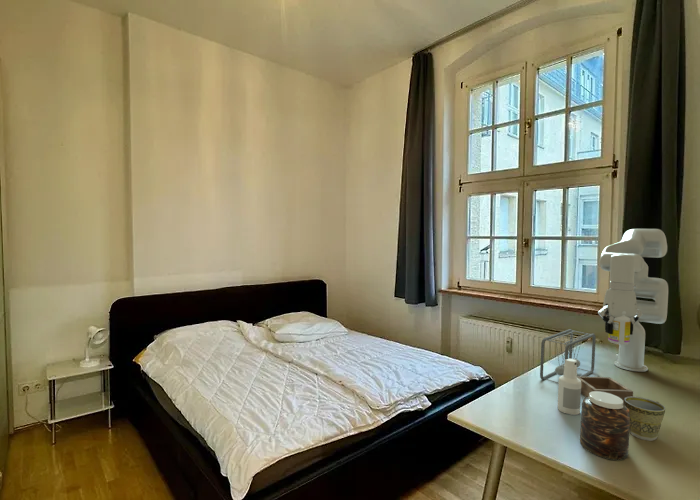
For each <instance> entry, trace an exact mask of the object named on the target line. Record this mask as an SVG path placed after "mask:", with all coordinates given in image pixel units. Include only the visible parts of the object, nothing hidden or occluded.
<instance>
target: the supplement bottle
mask: <svg viewBox="0 0 700 500" xmlns="http://www.w3.org/2000/svg"><path fill="white" fill-rule="evenodd" d="M622 314H626V312H625V311H623V312H622ZM612 324H613V333H612V334H609V333H607V334H608V336H607V337H608V338H607V341H608V342H610V343H611V344H615V345H619V344H620V345H628V344H629V342H630V318H629V317H626V316H625V315H622V316H620V317H614V319H613V321H612Z"/></svg>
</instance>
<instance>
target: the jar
mask: <svg viewBox="0 0 700 500" xmlns="http://www.w3.org/2000/svg"><path fill="white" fill-rule="evenodd" d="M580 413H581V414H580V430H579V431H580V432H579V433H580V434H579V436H580V437H579V442H580V445H581V446H582V448H583V449H585V450H586V451H588V452H590V453H591V454H593V455H595V456H597V457H600V458H603V459H607V460H611V461H624V460H627V458H628V457H629V450H630V449H629V448H630V447H629V446H630V445H629V444H630V412H629V409H628V408H627V407H626V406H625V405H623V400H622V399H621V398H619V397H618V396H615V395H613V394H610V393H606V392H600V391H593V392H590V393H589V397H584V398H583V399H582V402H581V409H580Z"/></svg>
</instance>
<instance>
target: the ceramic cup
mask: <svg viewBox="0 0 700 500" xmlns="http://www.w3.org/2000/svg"><path fill="white" fill-rule="evenodd" d="M624 404H625V405H624V406H626V407H627V408H628V409H629V412H630V432H629V434H631V436H633V437H635V438H637V439H639V440H644V441H650V442H651V441H655V440H658V436H659V433H660V429H661V426H662V422H663V420H664V417H665V413H666V407H665V405H663V404H662V403H660V402H659V401H655V400H653V399H650V398H646V397H641V396H634V395H633V396H630V397H626V398H624Z"/></svg>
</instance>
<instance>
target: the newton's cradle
mask: <svg viewBox="0 0 700 500" xmlns="http://www.w3.org/2000/svg"><path fill="white" fill-rule="evenodd" d="M574 333H576V335H578V336H575V337H576V338H575V337H574ZM577 333H580V335H579V334H577ZM581 334H584V335H581ZM565 337H566V338H565ZM590 338H592V340H591V341H592V343H591V345H592V347H591V362H590V363H591V368H590V370H588V369H584V368H580V366H581V362H580V360H579V359H578V355H579V352H580V351H579V350H580V348H581V345H582V342H583V341H585V340H587V339H590ZM560 339H561V341H563V342H564V343H563V342H561V341H560ZM566 339H568V340H566ZM596 339H597V338H596V334H595V333H587V332H583V331H577V330H573V329H571V328H569V329H566V330H564V331H561V332H557V333H555V334H553V335H549V336H547V337H544V338H542V340H541V343H540V345H541V346H540V347H541V348H540V364H539V367H540V369H539V378H540V380H542V381H544V379H545V380H546V381H549V382H551V383H555V384H558V385H559V381H555V380H551V379H548V378H550V377H552V376H554V375H558V376H563V375H564V365H565V359H569V358H570V359H574V360H576V361H577V364H576V365H577V370H582V371H585V373H583V374H581V376H585V377H589V375H591V374H593V372H594V371H595V360H596V359H595V358H596V357H595V356H596V342H597V341H596ZM557 340H559V341H557ZM564 340H566V341H564ZM546 341H548V342H552V343H555V344H556V347H558V344H560V345H564V346H565V347H564V354H561V356H562V357H561V358H562V363H561V364H558V365H559V366H556V367H555V368H554V371H552V372H551V373H548V374H546V375H544V363H545V362H544V360H545V359H544V358H545V343H546ZM579 343H580V344H579ZM575 345H576V347H575ZM578 345H579V348H578ZM574 347H575V350H574ZM577 349H578V352H577V355H576V351H577ZM560 350H561V352H563V350H562V347H560ZM556 351H557V354H559V353H558V352H559V351H558V349H556ZM575 355H576V358H575ZM557 360H558V362H560V359H559V357H557Z"/></svg>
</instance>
